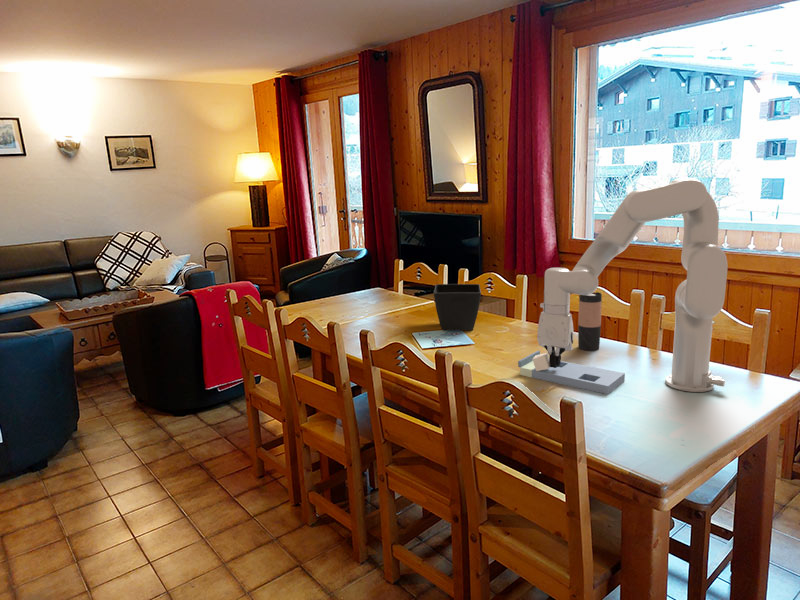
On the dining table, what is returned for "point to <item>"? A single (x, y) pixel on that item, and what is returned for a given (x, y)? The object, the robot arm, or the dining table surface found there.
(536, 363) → the cream block
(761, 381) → the dining table surface
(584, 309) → the travel mug
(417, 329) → the dining table surface
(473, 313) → the flower pot
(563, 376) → the board
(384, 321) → the dining table surface
